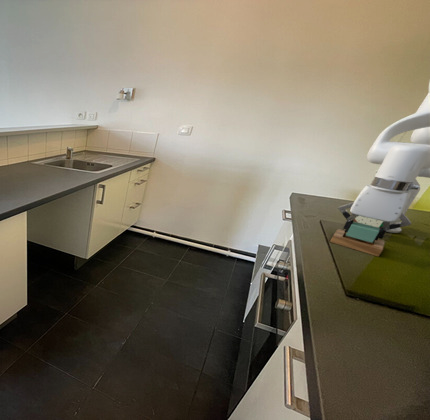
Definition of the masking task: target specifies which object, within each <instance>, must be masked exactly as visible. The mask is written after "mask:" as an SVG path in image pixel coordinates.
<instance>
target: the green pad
mask: <svg viewBox="0 0 430 420" xmlns="http://www.w3.org/2000/svg"><path fill="white" fill-rule="evenodd" d="M379 229H380V228H378V227H374V226H370V225H366V224H362V223H358V222H353V223H352V225H351V227H350V228H349V230H348V232H347V234H346V236H349V237H353V238H357V239H360V240H364V241H367V242H371V243H373V241H374V239H375V238H376V236H377V234H378V233H379Z"/></svg>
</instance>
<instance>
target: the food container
mask: <svg viewBox="0 0 430 420" xmlns="http://www.w3.org/2000/svg"><path fill="white" fill-rule="evenodd" d="M353 221H354V222H358V223H362V224H366V225H370V226H374V227H378V228H382V226H383V221H381V220H376V219H372V218H368V217H363V216H358V217H356V218H355V219H354V220H353Z"/></svg>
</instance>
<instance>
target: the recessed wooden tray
mask: <svg viewBox="0 0 430 420" xmlns="http://www.w3.org/2000/svg"><path fill="white" fill-rule="evenodd" d="M345 230H346V229H341V228H337V230H336V231H335V233H334V234H333V235H332V237H331V239H330V240H329V243H332V244H335V245H339V246H342V247H346V248H347V249H352V250H354V251H359V252H361V253H365V254H369V255H372V256H375V257H380V255H381V254H382V252H383V251H384V247H385V246H384V245H385V240H383V239H380V238H378V240H377V241H376V240H374V241H373V243H371V242H367V241H364V240H360V239H357V238H353V237H349V236H346V234H347V232H345Z"/></svg>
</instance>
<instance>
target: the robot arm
mask: <svg viewBox="0 0 430 420" xmlns="http://www.w3.org/2000/svg"><path fill="white" fill-rule="evenodd" d="M411 131H412V133H411V136H410V139H409V140H410V142H401V141H391V140H392V139H393V138H394V137H396V136H398V135H401V134H403V133H407V132H411ZM366 160H367V161H368V163H371V164H374V165H380V166H379V168H378V170H377V171H376V173H375V175H374V177H373V179H372V181H371V182H370V184H366V185H365V186H364V187H363V188H362V189H361V190H360V192H359V193H358V195H357V197H356V198H355V200H354V201H352V202H349V203H346V204H344V205H340V206H338V208H337V209H338V211H339V212H340V213H341V214H342V216H343V217H344V218H345V220H346V222H345V223H344V226H343V227H342V230H345V232H348V230H349V228H350V227H351V225H352V223H353V222H354V221H353V220H354V219H355V218H356V217H358V216H363V217H368V218H372V219H376V220H381V221H383V226H382V228H380V229H379V233H378V234H377V236H376V238H375V239H374V240H376V241H377V240H378V239H380V240H383V238H384V236H385V235H386V233H390V234H391V233H392V234H399V233H401V232H402V231H403V230H402V227H407V226H410V225H412V221H410V219H409V218H408V216H406V213H407V211H408V210H409V208H410V207H411V205H412V203H413V202H414V200H415V199H416V197H417V196H418V194H419V192H420V191H421V185H420V183H419V182H418V180H417V177H420V178H428V179H430V80H429V81H428V93H427V94H426V96H425V98H424V99H423V101H422V102H421V104H420V105H419V107H418V109H416V111H415V112H414V113H412V114H410V115H408V116H405V117H403V118H400V119H399V120H397V121H395V122H393V123H391V124H390V125H388V126H386V127H385V128H384V130H382V131H381V132H380V133H379V135H378V136H377V137H376V139H375V140H374V142H373V144H372V145H371V146H370V148H369V149H368V152H367V154H366ZM347 209H350V210H349V212H348V210H347ZM350 213H351V214H350Z"/></svg>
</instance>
